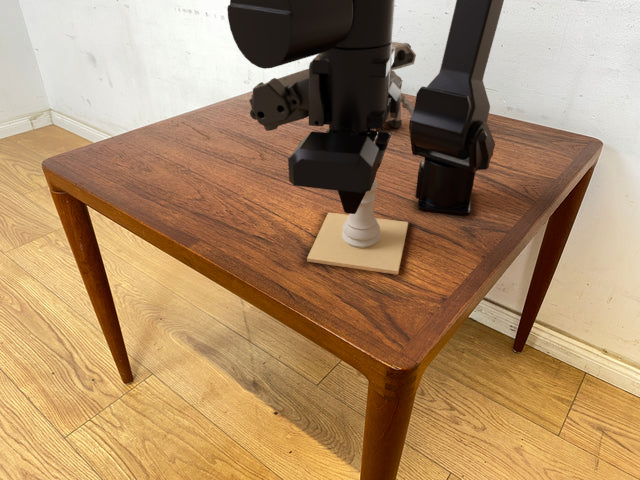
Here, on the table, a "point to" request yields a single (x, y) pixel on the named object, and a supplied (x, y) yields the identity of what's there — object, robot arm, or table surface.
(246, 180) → the table surface
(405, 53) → the figurine
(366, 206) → the rook chess piece
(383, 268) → the cork mat
